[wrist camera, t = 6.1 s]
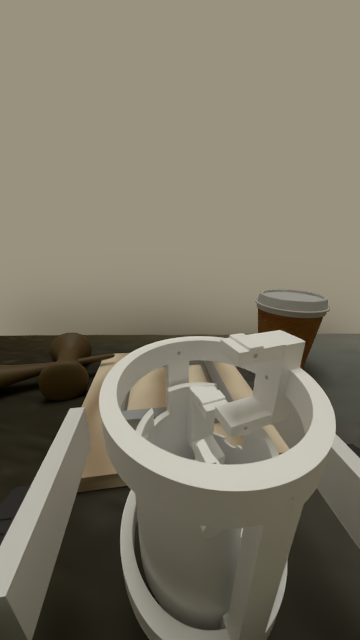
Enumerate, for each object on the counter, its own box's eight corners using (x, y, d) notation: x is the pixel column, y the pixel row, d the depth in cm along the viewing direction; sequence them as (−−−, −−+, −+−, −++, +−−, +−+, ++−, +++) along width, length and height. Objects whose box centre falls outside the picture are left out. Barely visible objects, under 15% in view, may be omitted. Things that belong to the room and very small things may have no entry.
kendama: (-29, 384, 30) (114, 357, 37) (-78, 440, 21) (120, 391, 28) (-46, 347, 28) (110, 325, 34) (-107, 393, 19) (115, 352, 26)
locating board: (221, 355, 37) (222, 340, 36) (292, 463, 18) (299, 437, 17) (105, 362, 35) (103, 346, 34) (52, 495, 16) (44, 467, 15)
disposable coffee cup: (236, 365, 34) (244, 293, 30) (265, 348, 40) (274, 286, 36) (298, 395, 27) (318, 306, 23) (321, 369, 33) (341, 295, 29)
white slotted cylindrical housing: (297, 661, 10) (422, 387, 5) (145, 792, 7) (86, 516, 2) (219, 498, 16) (238, 308, 11) (124, 540, 13) (96, 323, 9)
